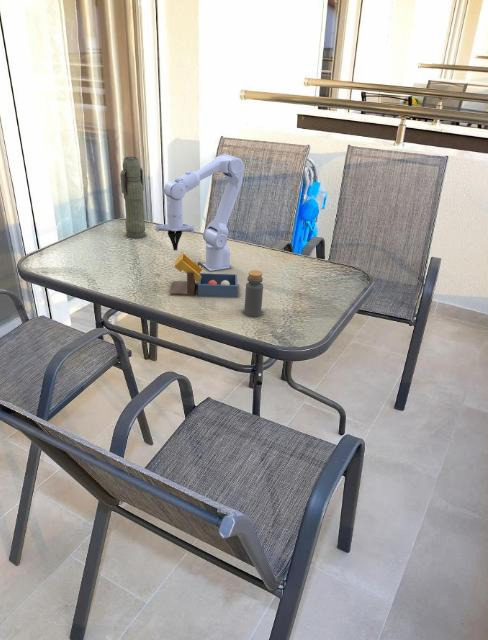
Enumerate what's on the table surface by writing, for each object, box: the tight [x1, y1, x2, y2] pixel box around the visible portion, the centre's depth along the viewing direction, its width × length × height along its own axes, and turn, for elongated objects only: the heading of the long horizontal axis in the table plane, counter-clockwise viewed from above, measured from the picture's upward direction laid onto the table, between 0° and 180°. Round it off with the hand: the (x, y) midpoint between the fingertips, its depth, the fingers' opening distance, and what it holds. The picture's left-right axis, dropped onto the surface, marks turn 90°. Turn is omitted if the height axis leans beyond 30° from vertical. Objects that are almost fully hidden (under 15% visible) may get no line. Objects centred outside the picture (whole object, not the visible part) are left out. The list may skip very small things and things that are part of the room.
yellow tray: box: [173, 251, 204, 283], centre depth 189 cm, size 10×15×4 cm
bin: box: [197, 272, 239, 298], centre depth 190 cm, size 14×11×4 cm
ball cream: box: [221, 280, 230, 285], centre depth 190 cm, size 4×4×4 cm
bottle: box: [244, 269, 264, 317], centre depth 172 cm, size 6×6×15 cm
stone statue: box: [119, 156, 146, 239], centre depth 232 cm, size 9×12×35 cm
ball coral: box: [208, 280, 217, 285], centre depth 190 cm, size 4×4×4 cm
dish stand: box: [170, 261, 196, 297], centre depth 188 cm, size 8×11×9 cm
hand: (175, 249), depth 197 cm, fingers closed
